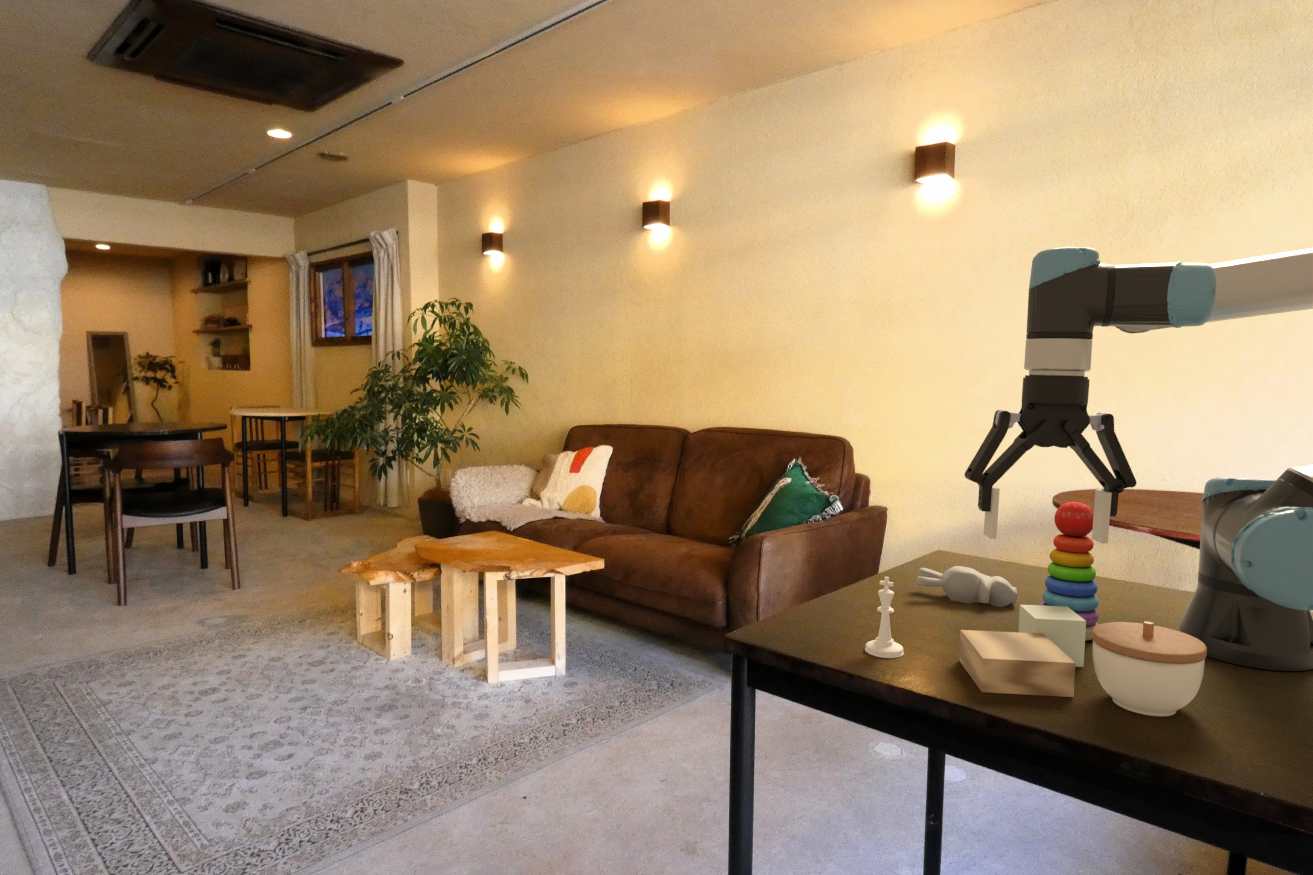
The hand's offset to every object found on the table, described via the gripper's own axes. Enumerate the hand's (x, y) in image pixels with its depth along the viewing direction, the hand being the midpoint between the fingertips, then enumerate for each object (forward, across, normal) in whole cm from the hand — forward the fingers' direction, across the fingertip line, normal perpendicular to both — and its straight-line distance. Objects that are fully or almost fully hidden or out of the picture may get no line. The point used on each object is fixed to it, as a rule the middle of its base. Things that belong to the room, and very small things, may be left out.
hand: (1044, 539), depth 101 cm
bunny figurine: (+16, +2, -24) cm, 29 cm away
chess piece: (+16, +20, +1) cm, 25 cm away
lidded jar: (+15, -6, +15) cm, 22 cm away
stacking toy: (+15, -8, -9) cm, 19 cm away
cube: (+15, -1, +1) cm, 15 cm away
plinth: (+15, +6, +9) cm, 19 cm away
